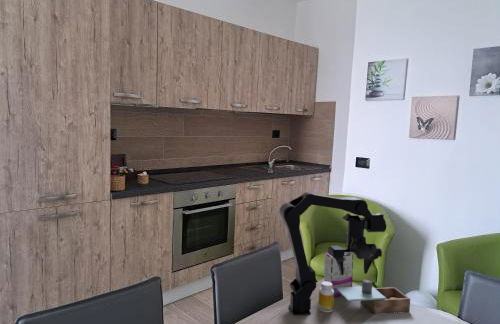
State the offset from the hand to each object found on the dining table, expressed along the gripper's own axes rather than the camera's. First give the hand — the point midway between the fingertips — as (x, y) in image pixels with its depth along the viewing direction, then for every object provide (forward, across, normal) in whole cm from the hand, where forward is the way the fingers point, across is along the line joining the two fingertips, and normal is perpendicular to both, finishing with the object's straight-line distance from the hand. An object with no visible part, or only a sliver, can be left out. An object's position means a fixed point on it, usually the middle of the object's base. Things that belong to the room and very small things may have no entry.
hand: (353, 274), depth 129 cm
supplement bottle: (+13, -10, 0) cm, 17 cm away
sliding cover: (+8, +3, 0) cm, 8 cm away
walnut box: (+13, +13, 0) cm, 18 cm away
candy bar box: (+13, 0, +13) cm, 19 cm away
